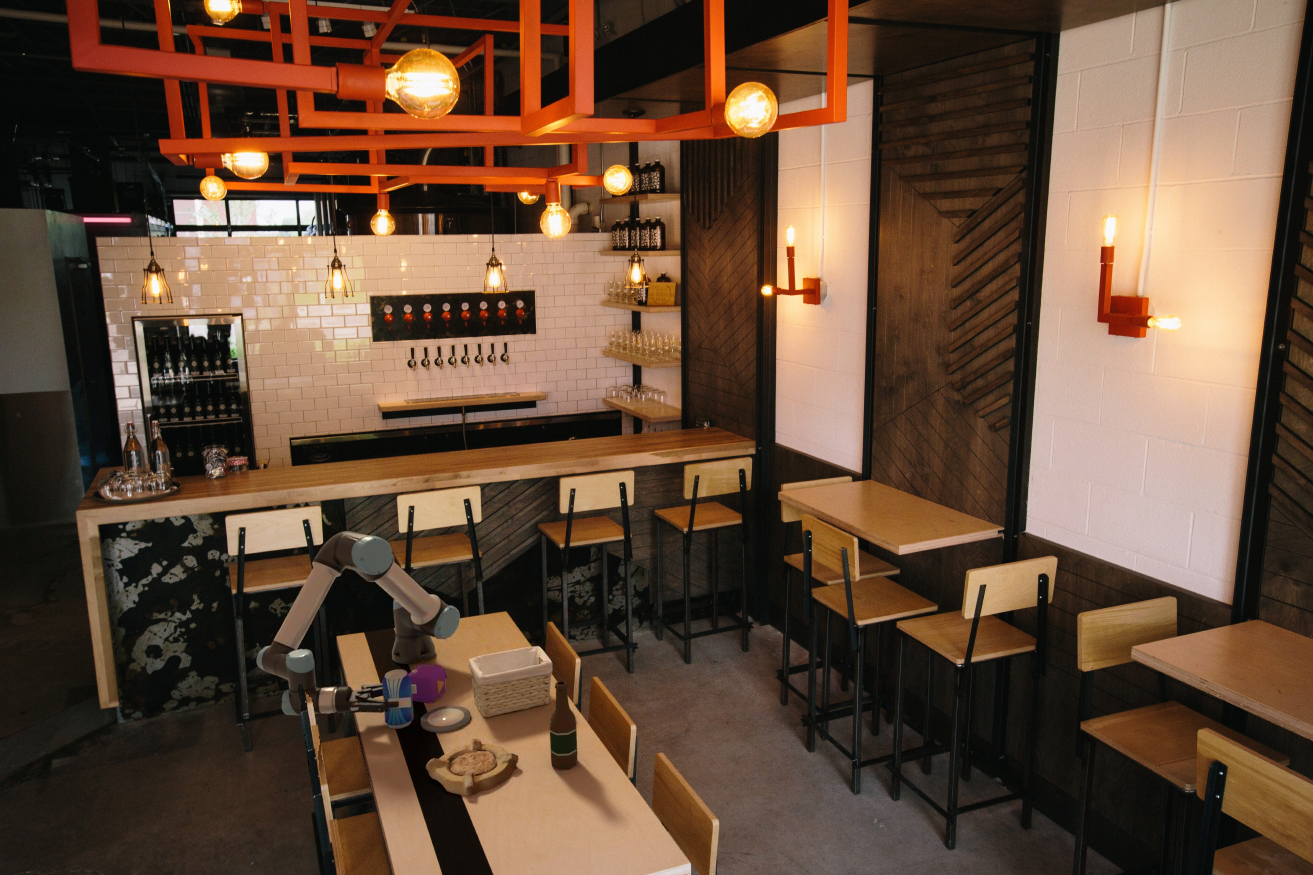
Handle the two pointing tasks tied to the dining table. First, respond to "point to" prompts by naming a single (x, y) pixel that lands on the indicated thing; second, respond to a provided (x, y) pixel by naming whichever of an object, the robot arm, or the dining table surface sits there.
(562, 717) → the beer bottle
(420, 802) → the dining table surface
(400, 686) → the beer can
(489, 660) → the storage basket
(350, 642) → the dining table surface
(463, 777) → the ashtray
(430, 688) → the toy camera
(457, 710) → the coaster plate
